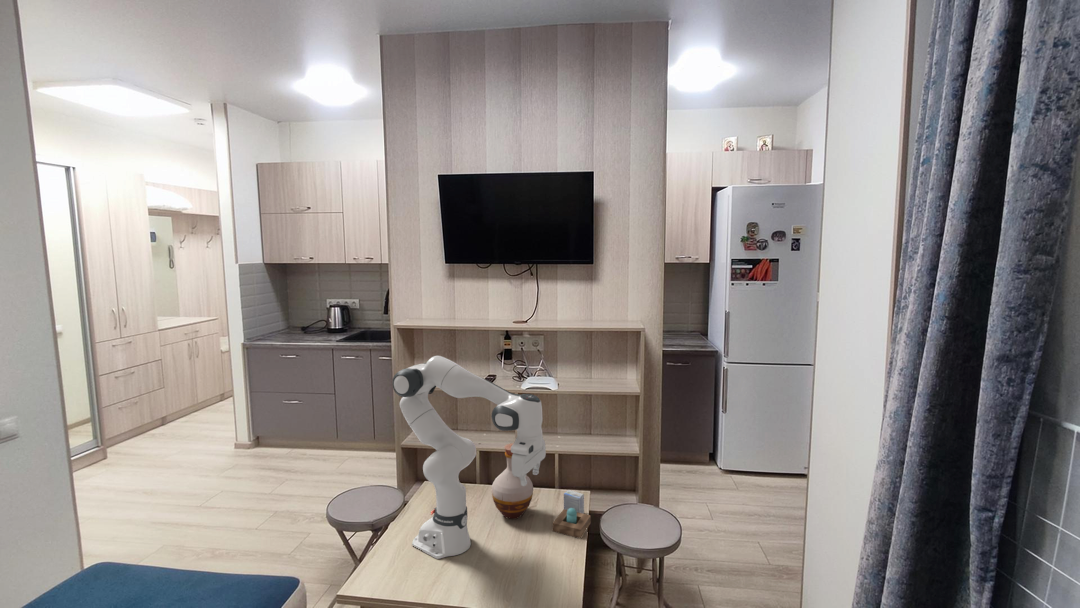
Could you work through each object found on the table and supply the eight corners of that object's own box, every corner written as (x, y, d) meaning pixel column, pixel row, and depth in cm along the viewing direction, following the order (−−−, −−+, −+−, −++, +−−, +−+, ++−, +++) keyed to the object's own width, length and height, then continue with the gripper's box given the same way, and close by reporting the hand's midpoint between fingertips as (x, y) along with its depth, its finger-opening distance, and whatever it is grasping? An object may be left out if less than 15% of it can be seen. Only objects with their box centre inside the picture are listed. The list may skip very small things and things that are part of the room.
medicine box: (584, 513, 203) (584, 493, 202) (579, 517, 199) (579, 498, 199) (568, 508, 207) (568, 489, 207) (563, 512, 203) (563, 493, 203)
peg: (565, 528, 191) (565, 509, 190) (568, 523, 194) (568, 505, 194) (574, 531, 189) (574, 511, 188) (577, 526, 193) (578, 507, 192)
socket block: (552, 531, 189) (552, 522, 188) (563, 517, 200) (563, 509, 199) (580, 538, 184) (580, 529, 183) (590, 523, 195) (590, 515, 194)
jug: (501, 499, 215) (501, 435, 213) (539, 505, 210) (539, 439, 208) (485, 521, 196) (484, 451, 194) (526, 528, 191) (526, 456, 189)
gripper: (534, 430, 175) (534, 466, 176) (508, 449, 157) (508, 489, 157) (550, 433, 172) (549, 469, 173) (525, 452, 154) (525, 493, 155)
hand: (529, 479), depth 165 cm, fingers open, 8 cm apart
